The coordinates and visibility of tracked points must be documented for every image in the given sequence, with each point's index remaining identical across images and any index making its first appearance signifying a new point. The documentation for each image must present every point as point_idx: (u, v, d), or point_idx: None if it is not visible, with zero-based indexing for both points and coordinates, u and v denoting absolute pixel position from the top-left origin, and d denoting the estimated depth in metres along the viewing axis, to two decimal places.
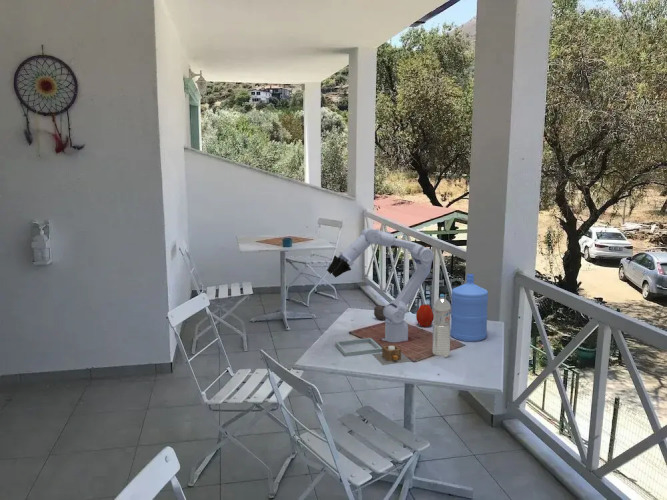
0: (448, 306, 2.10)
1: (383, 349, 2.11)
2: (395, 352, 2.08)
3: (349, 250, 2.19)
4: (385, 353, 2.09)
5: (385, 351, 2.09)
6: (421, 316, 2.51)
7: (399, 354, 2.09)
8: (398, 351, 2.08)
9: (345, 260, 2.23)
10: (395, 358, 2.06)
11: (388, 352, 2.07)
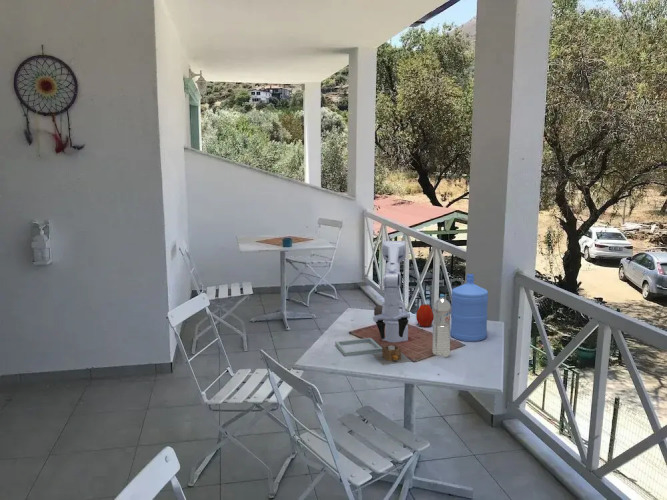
0: (448, 306, 2.10)
1: (383, 349, 2.11)
2: (395, 352, 2.08)
3: (397, 309, 2.06)
4: (385, 353, 2.09)
5: (385, 351, 2.09)
6: (421, 316, 2.51)
7: (399, 354, 2.09)
8: (398, 351, 2.08)
9: None
10: (395, 358, 2.06)
11: (388, 352, 2.07)
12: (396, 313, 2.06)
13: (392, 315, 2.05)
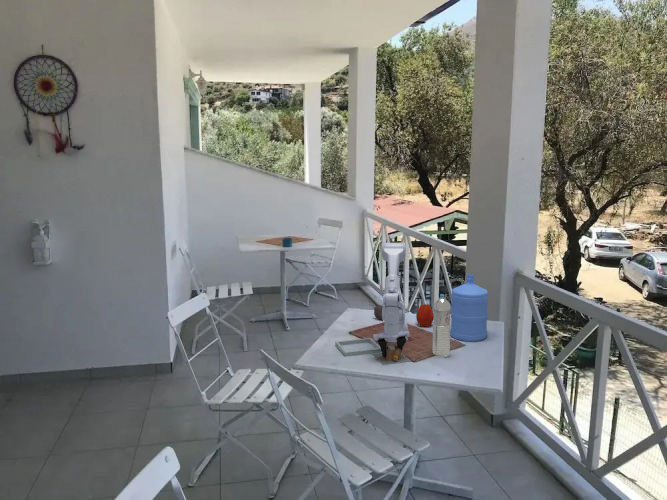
0: (448, 306, 2.10)
1: None
2: (395, 352, 2.08)
3: (397, 327, 2.07)
4: None
5: None
6: (421, 316, 2.51)
7: (399, 354, 2.09)
8: (398, 351, 2.08)
9: None
10: (395, 358, 2.06)
11: (388, 352, 2.07)
12: (396, 332, 2.07)
13: (392, 334, 2.07)
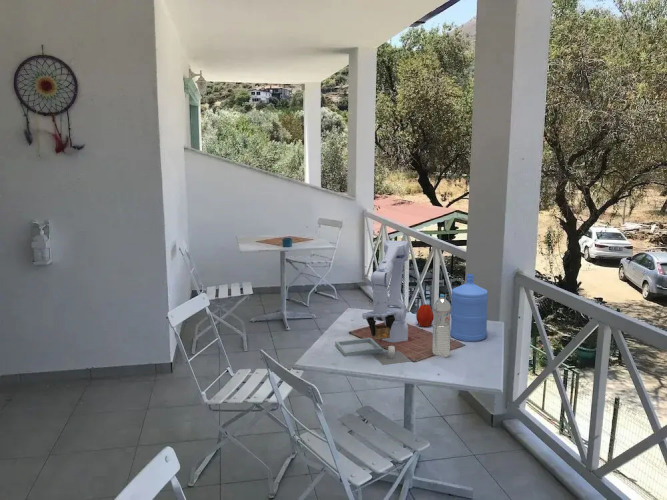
0: (448, 306, 2.10)
1: None
2: (384, 331, 2.10)
3: (386, 306, 2.10)
4: None
5: None
6: (421, 316, 2.51)
7: (388, 333, 2.11)
8: (387, 330, 2.11)
9: None
10: (384, 336, 2.09)
11: (377, 330, 2.10)
12: (385, 310, 2.09)
13: (381, 312, 2.09)
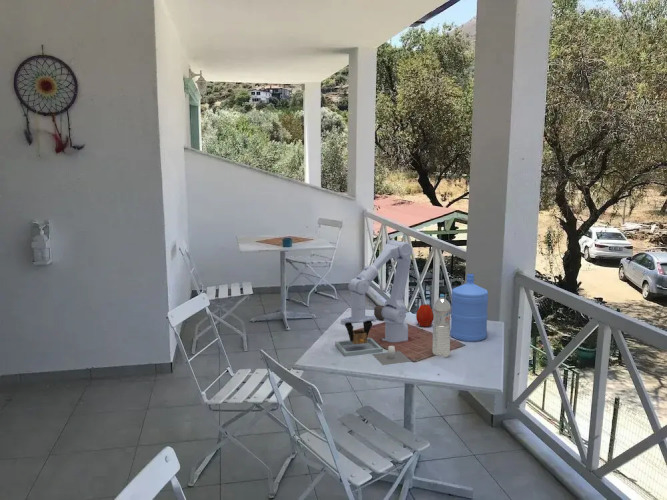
0: (448, 306, 2.10)
1: None
2: (361, 336, 2.18)
3: (363, 312, 2.18)
4: None
5: None
6: (421, 316, 2.51)
7: (365, 338, 2.19)
8: (364, 335, 2.19)
9: None
10: (361, 341, 2.16)
11: (355, 336, 2.18)
12: (362, 316, 2.17)
13: (358, 318, 2.17)
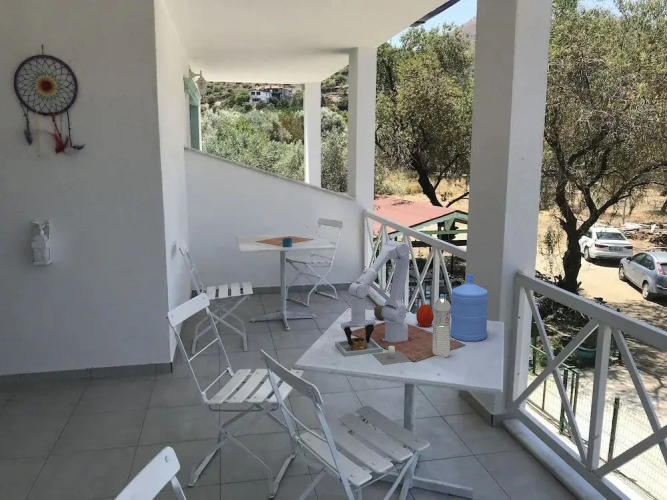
0: (448, 306, 2.10)
1: None
2: (361, 343, 2.19)
3: (363, 316, 2.18)
4: (352, 344, 2.20)
5: (352, 342, 2.20)
6: (421, 316, 2.51)
7: (365, 345, 2.19)
8: (364, 342, 2.19)
9: None
10: (361, 349, 2.17)
11: (354, 343, 2.18)
12: (362, 321, 2.18)
13: (358, 322, 2.17)
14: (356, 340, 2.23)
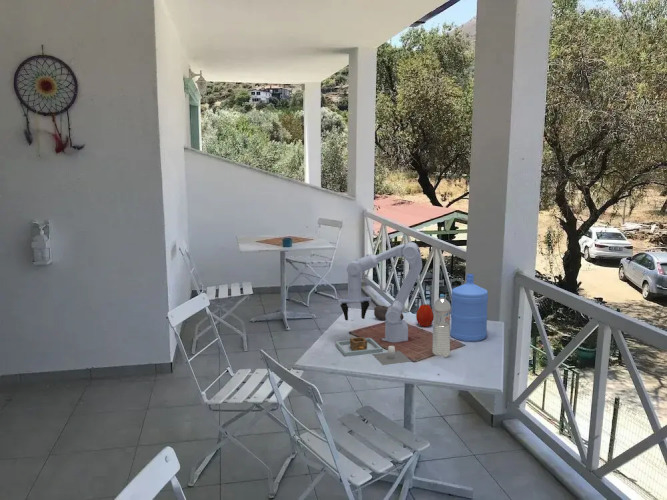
0: (448, 306, 2.10)
1: (350, 341, 2.22)
2: (361, 343, 2.19)
3: (359, 293, 2.31)
4: (352, 344, 2.20)
5: (352, 342, 2.20)
6: (421, 316, 2.51)
7: (365, 345, 2.19)
8: (364, 342, 2.19)
9: None
10: (361, 349, 2.17)
11: (354, 343, 2.18)
12: (358, 297, 2.30)
13: (354, 299, 2.30)
14: (356, 340, 2.23)
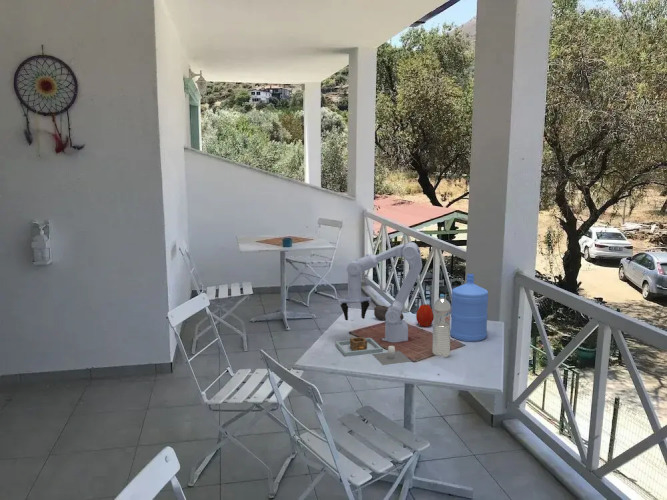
0: (448, 306, 2.10)
1: (350, 341, 2.22)
2: (361, 343, 2.19)
3: (359, 293, 2.31)
4: (352, 344, 2.20)
5: (352, 342, 2.20)
6: (421, 316, 2.51)
7: (365, 345, 2.19)
8: (364, 342, 2.19)
9: None
10: (361, 349, 2.17)
11: (354, 343, 2.18)
12: (358, 297, 2.31)
13: (354, 298, 2.30)
14: (356, 340, 2.23)
